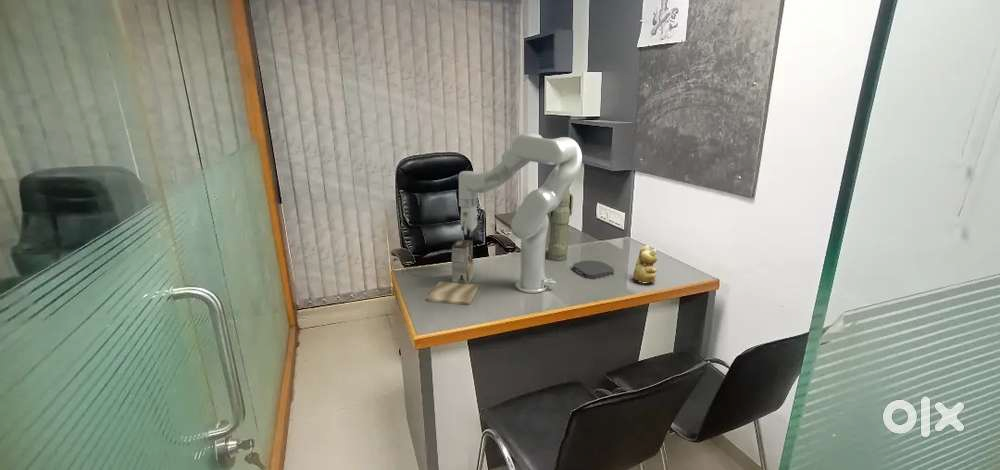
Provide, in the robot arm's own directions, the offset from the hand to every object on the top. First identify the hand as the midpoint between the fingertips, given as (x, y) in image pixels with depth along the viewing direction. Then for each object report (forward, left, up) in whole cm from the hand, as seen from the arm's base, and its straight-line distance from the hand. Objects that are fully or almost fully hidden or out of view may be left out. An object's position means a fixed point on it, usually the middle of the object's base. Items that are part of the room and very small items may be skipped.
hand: (468, 244), depth 191 cm
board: (0, +23, -12) cm, 26 cm away
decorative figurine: (-72, -5, -12) cm, 73 cm away
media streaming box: (-52, -12, -13) cm, 55 cm away
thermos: (-36, -26, -12) cm, 46 cm away
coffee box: (0, +10, -12) cm, 16 cm away
